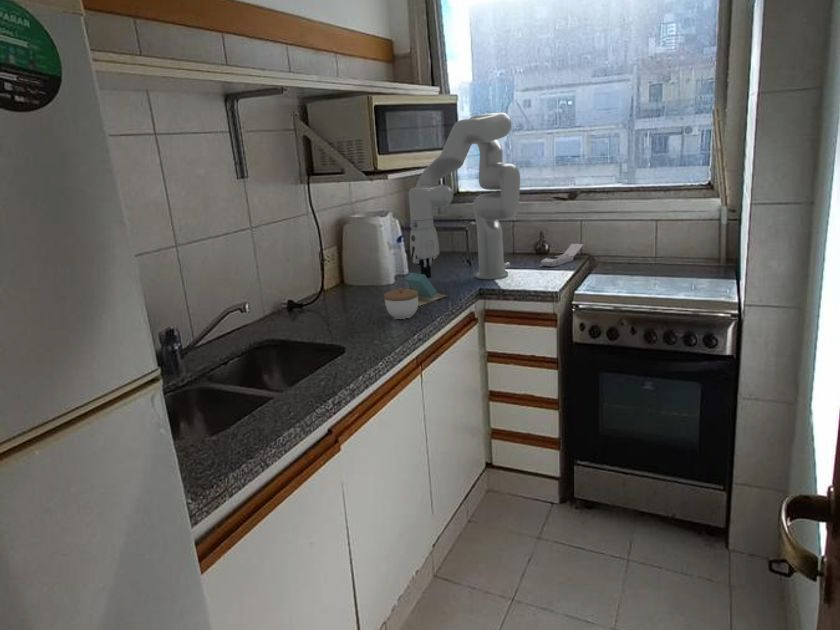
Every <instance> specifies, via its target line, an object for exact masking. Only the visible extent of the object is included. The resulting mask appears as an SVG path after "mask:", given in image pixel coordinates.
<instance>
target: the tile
mask: <svg viewBox="0 0 840 630" xmlns="http://www.w3.org/2000/svg"><path fill="white" fill-rule="evenodd" d="M405 281H406V282H407V283H408V284H409V286H410V287H411V288H412V290H416V291H418V296H422V297H428V298H433V297H434V296H435V294H438V291H437V289H436V288H435V287H434V285H433V284H432V283H431V281H430V279H429V278H427V277H426V276H425V274H421V273H415V272H409V274H408V275H407V276H406V278H405Z"/></svg>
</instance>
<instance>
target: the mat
mask: <svg viewBox="0 0 840 630" xmlns="http://www.w3.org/2000/svg"><path fill="white" fill-rule="evenodd" d="M445 296H448V294H442V293H441V294H440V293H436V294H435V296H434V297H433V298H428V297H422V296H418V306H421V305H423V304H426V303H428V302H431V301H434V300H436V299H439V298H442V297H445ZM426 305H427V304H426ZM423 306H424V305H423ZM421 307H422V306H421Z"/></svg>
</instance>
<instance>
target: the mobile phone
mask: <svg viewBox="0 0 840 630" xmlns="http://www.w3.org/2000/svg"><path fill="white" fill-rule="evenodd" d="M583 246H584V243H570V245H569V246H568V248H567V249H566V250H565V251H564V253H563V254H558V255H555V256H549V257H545V258H544V259H542V260H541V262H540V264H539V265H538V268H541V267H542V268H543V267H558V266H561V265H563V264H564V265H565V264H567V263H570V262H573V261H574V257H575V256H576V255H577V254H578V253H579V252H580V250H581V249H582V247H583Z"/></svg>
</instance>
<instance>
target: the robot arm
mask: <svg viewBox="0 0 840 630" xmlns="http://www.w3.org/2000/svg"><path fill="white" fill-rule="evenodd" d="M511 129H512V120H511V118H510V116H509V114H507V113H505V112H501V111H499V112H493V113H492V112H491V113H490V112H489V113H482V114H481V113H480V114H476V115H472V116H471V117H469V118H465V119H460V120H458V121H456V122H455V123H454V124H453V126H452V128H451V130H450V132H449V135H448V137H447V139H446V141H445V144H444V146H443V148H442V150H441V152H440V155H438V157H436V158H435V159H434V160H433V161H432V162H431V163H430V164H429V165H428V166H427V167H426V168H425V169H424V170H423V171H422V172H421V174H420V175H419V178H418V180H417V182H416V185H415V187H412V188H410V189H409V191H408V201H409V215H410V216H409V217H410V224H409V227H410V228H411V229H410V235H409V249H410V251H409V253H410V256H411V258H412V263H413V264H417V265H418V267H420V274H425V276H426V277H427V278H428V279H430V278H432V271H431V270H432V269H431V267H432V265H433V261H434V260H435V259H437V257H438V256H439V255H440V244H439V238H438V232H437V230H436V227H435V226H434V215H433V213H434V211H433V208H440V207H441V208H443V207H444V208H445V207H447V206H449V204H451V202H452V201H453V199H454V192H453V190H452V188H451V187H450V186H449V185H446V184H438V182H439V181H440V180H441V179H442V178H444V177H445V176H447V175H449V174H452V173H453V172H455V171H457V170H459V169H460V168H461V167H463V165H464V163H465V160H466V159H467V155H468V154H469V151H470V148H471V146H472V145H474V144H476V145H477V147H478V150H479V162H478V165H479V166H478V183H479V187H480V188H482V189H483V190H490V191H500V193H482V194H479V195H478V196H476V197H475V198H474V200H473V203H472V209H473V215H474V218H475V223H476V231H477V233H476V234H477V235H476V236H477V238H476V239H477V252H478V253H477V254H478V255H477V257H478V268H479V269H478V272H476V273H475V278H477V279H479V280H499V279H503V278H507V277H508V276H509V272H508V271H507V270H506V269H507V268H509V267H511V262H509V261H508V262H504V240H503V235H504V234H503V229H502V225H501V223H500V221H507V220H508V221H509V220H510V221H511V220H512V219H514V218H516V216H517V214H518V211H519V203H520V191H521V190H520V189H521V175H520V174H521V173H520V170H519V168H518V166H516V165H515V164H513V163H507V162H505V163H504V162H503V157H504V156H503V155H504V154H503V153H504V152H503V148H502V144H501V143H500V141H499V140H500V139H503V138H504V137H506V136H508V134H509V133H510V131H511Z"/></svg>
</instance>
